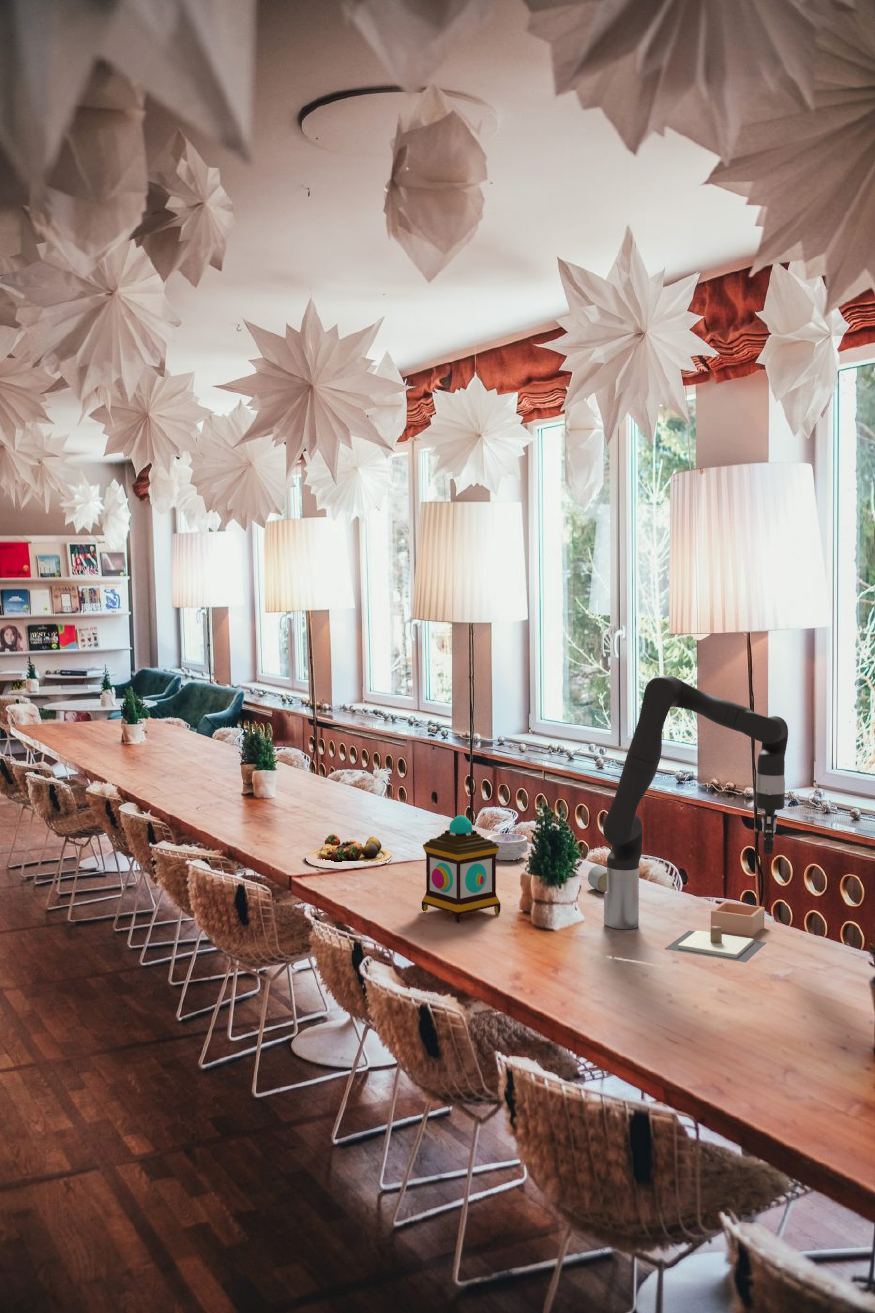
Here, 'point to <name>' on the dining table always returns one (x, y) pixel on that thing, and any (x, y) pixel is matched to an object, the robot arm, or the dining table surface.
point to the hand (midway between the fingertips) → (768, 849)
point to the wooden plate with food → (352, 850)
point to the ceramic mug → (598, 878)
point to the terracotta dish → (738, 918)
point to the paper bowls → (509, 845)
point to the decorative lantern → (461, 870)
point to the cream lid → (716, 943)
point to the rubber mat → (743, 957)
